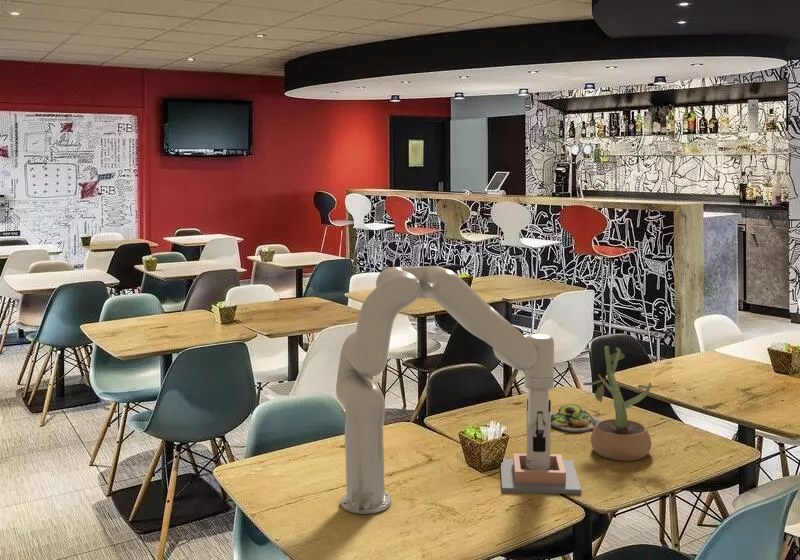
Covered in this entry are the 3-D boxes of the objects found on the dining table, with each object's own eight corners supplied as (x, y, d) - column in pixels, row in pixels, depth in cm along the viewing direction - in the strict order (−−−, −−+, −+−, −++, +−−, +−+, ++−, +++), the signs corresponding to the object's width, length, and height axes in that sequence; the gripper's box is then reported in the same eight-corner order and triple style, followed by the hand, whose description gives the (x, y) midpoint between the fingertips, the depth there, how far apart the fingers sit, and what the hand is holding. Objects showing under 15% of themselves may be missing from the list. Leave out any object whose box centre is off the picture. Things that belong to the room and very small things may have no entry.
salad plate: (619, 429, 248) (619, 415, 247) (575, 439, 240) (575, 424, 239) (578, 412, 265) (578, 399, 264) (535, 421, 256) (536, 408, 256)
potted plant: (666, 456, 223) (670, 354, 219) (615, 467, 216) (617, 361, 212) (616, 432, 244) (618, 338, 239) (567, 441, 237) (569, 344, 233)
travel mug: (525, 474, 207) (526, 400, 204) (527, 464, 213) (527, 393, 210) (549, 475, 206) (550, 402, 203) (550, 466, 212) (551, 394, 209)
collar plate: (581, 494, 199) (581, 478, 198) (502, 492, 201) (502, 476, 201) (572, 464, 219) (572, 450, 218) (500, 462, 221) (500, 448, 220)
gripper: (522, 372, 215) (522, 435, 217) (526, 390, 198) (525, 458, 200) (550, 372, 214) (549, 436, 217) (556, 390, 197) (555, 459, 200)
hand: (538, 446), depth 209 cm, fingers closed on travel mug, 6 cm apart
